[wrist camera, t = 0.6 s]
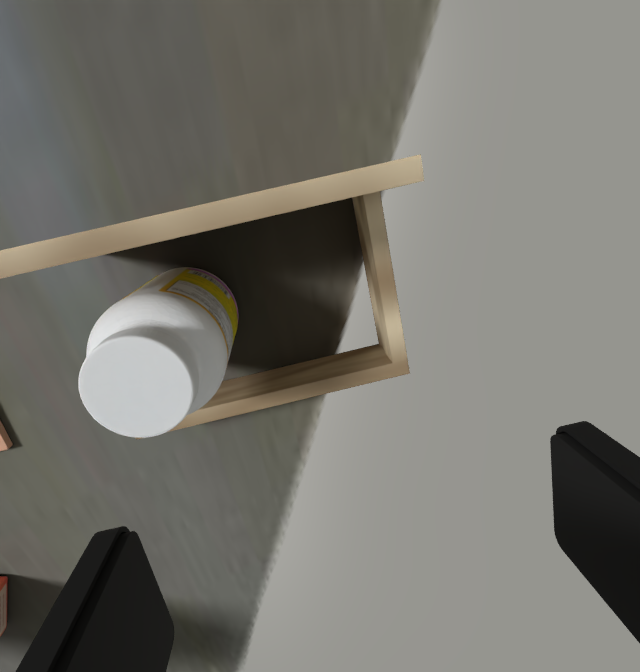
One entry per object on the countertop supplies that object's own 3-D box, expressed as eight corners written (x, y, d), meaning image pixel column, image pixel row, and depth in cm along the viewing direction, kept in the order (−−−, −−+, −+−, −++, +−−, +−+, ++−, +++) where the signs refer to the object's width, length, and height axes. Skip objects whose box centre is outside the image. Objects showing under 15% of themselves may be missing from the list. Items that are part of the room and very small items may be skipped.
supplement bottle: (155, 363, 31) (76, 469, 19) (131, 272, 29) (26, 324, 17) (247, 350, 31) (229, 446, 19) (231, 259, 29) (199, 301, 17)
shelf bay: (86, 236, 28) (-46, 260, 17) (362, 172, 28) (420, 154, 17) (153, 411, 32) (84, 527, 21) (394, 352, 32) (457, 435, 21)
